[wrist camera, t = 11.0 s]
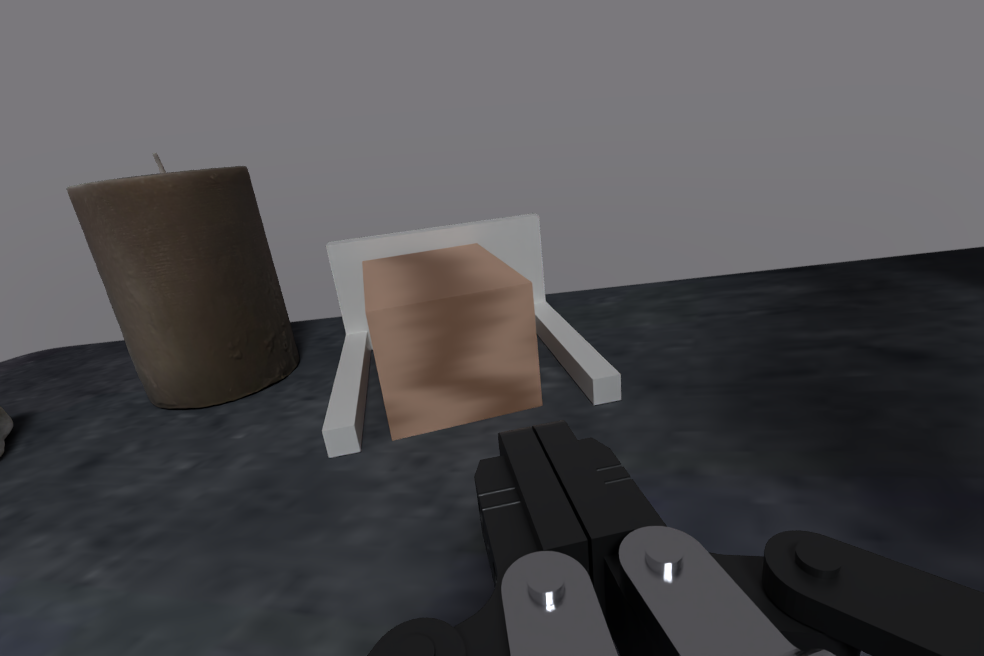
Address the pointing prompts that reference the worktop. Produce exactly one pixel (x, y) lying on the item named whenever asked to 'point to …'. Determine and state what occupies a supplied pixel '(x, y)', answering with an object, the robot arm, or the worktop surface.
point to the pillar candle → (190, 282)
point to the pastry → (4, 428)
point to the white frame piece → (500, 236)
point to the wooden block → (451, 338)
